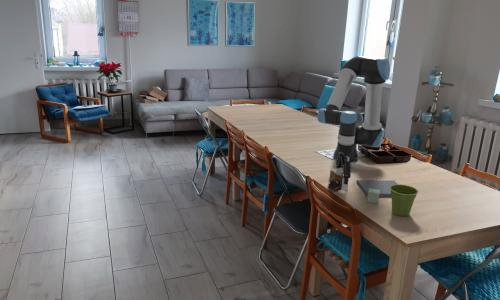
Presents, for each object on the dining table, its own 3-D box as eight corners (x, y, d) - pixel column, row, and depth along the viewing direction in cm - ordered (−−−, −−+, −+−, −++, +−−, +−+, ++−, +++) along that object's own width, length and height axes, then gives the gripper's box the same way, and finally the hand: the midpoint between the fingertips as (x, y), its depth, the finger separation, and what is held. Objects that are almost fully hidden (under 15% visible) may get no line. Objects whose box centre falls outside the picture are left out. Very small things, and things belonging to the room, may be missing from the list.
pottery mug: (324, 186, 206) (331, 172, 206) (339, 194, 207) (347, 180, 208) (331, 189, 194) (339, 174, 195) (348, 198, 195) (356, 183, 196)
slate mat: (356, 182, 212) (356, 179, 212) (393, 183, 213) (394, 180, 212) (367, 196, 195) (367, 193, 194) (407, 197, 196) (408, 194, 195)
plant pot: (385, 205, 185) (389, 182, 182) (413, 209, 182) (417, 186, 179) (386, 216, 174) (390, 192, 171) (415, 220, 171) (419, 196, 168)
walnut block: (329, 178, 217) (330, 169, 215) (337, 177, 218) (338, 168, 217) (334, 181, 212) (334, 172, 211) (342, 180, 214) (343, 172, 212)
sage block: (367, 197, 193) (368, 188, 192) (378, 199, 192) (379, 189, 190) (367, 201, 188) (368, 192, 187) (378, 203, 187) (379, 193, 186)
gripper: (332, 136, 206) (328, 176, 213) (344, 150, 183) (339, 194, 189) (346, 137, 207) (342, 176, 213) (360, 150, 184) (355, 194, 190)
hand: (341, 184), depth 201 cm, fingers closed on pottery mug, 12 cm apart
